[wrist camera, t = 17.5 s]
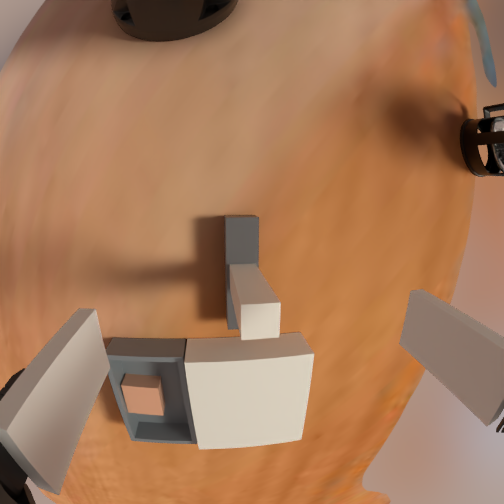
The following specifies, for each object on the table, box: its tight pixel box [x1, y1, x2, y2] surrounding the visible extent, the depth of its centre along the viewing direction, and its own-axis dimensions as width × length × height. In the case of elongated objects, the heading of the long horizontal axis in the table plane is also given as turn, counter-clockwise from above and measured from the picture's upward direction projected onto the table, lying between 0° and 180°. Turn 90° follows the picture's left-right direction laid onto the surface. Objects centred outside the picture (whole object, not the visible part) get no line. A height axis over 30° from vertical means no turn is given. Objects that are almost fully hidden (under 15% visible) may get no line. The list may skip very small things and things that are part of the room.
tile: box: [121, 373, 165, 416], centre depth 29 cm, size 4×4×2 cm
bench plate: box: [184, 332, 314, 449], centre depth 30 cm, size 14×13×5 cm
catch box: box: [106, 337, 197, 444], centre depth 29 cm, size 14×9×4 cm, turn 1°
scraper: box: [224, 215, 281, 340], centre depth 23 cm, size 11×3×13 cm, turn 1°
